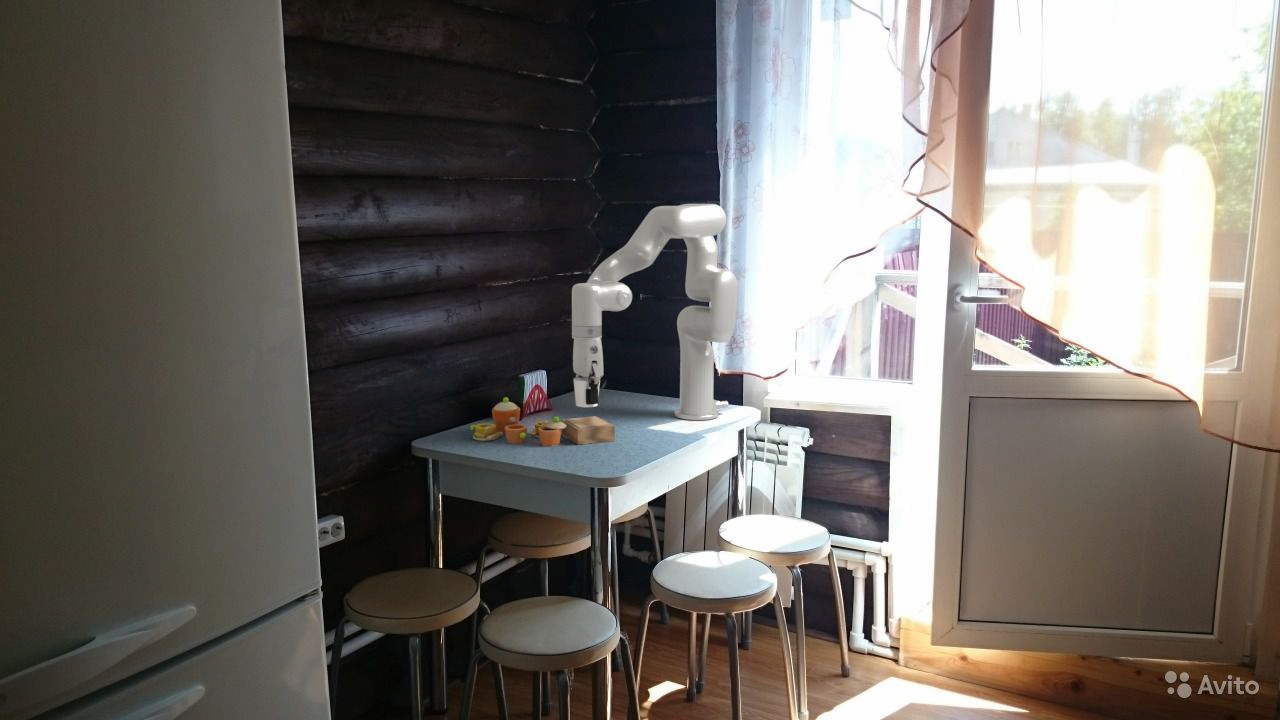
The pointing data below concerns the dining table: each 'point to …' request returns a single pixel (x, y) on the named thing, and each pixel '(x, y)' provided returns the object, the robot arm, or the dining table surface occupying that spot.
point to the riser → (588, 430)
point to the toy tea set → (517, 426)
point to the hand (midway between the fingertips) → (587, 400)
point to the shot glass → (582, 392)
